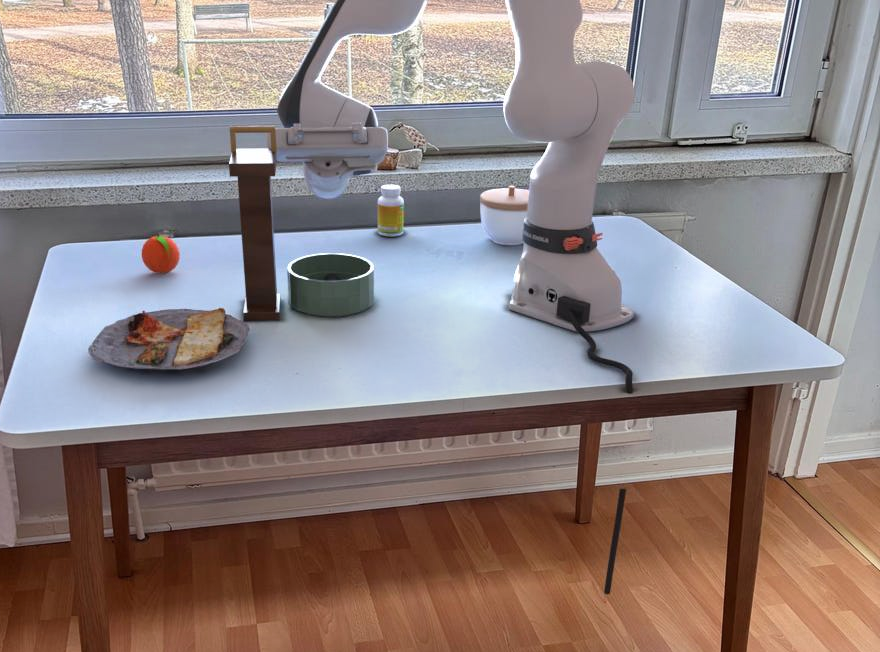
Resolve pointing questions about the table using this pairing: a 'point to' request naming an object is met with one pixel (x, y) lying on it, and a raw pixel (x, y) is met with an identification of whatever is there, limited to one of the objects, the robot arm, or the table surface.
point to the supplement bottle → (390, 211)
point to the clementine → (160, 254)
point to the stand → (257, 224)
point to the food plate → (170, 339)
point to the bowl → (330, 284)
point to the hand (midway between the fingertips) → (327, 128)
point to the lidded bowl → (504, 214)
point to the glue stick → (331, 277)
